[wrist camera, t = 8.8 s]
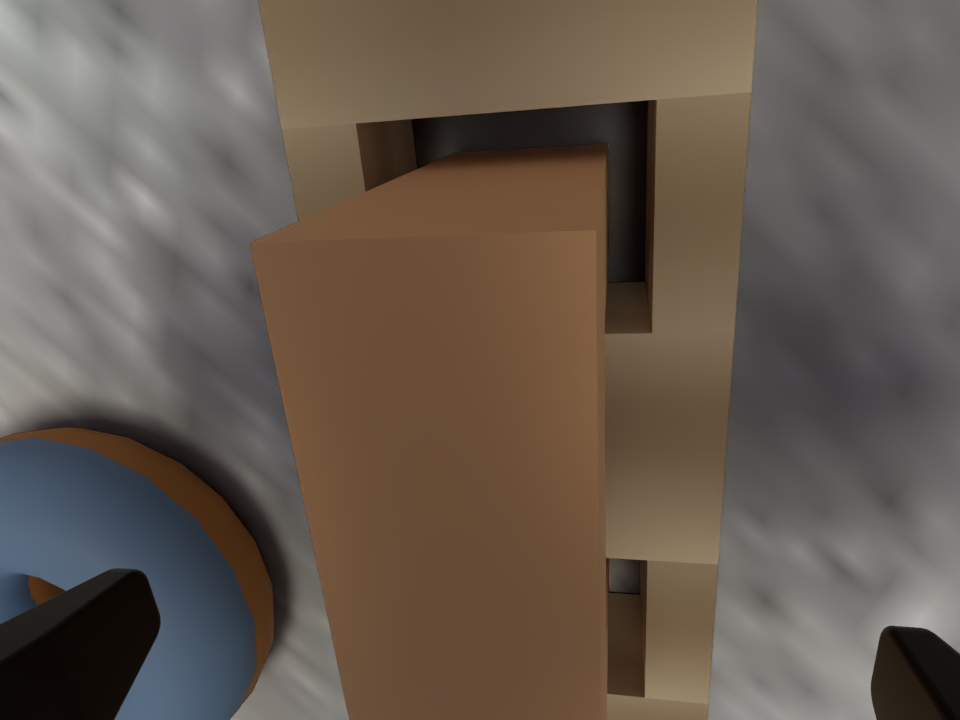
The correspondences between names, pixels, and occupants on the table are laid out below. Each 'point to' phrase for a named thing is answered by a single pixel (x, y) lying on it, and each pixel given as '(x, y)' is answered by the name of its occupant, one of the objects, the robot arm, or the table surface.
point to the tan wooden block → (454, 431)
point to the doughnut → (139, 561)
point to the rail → (629, 305)
